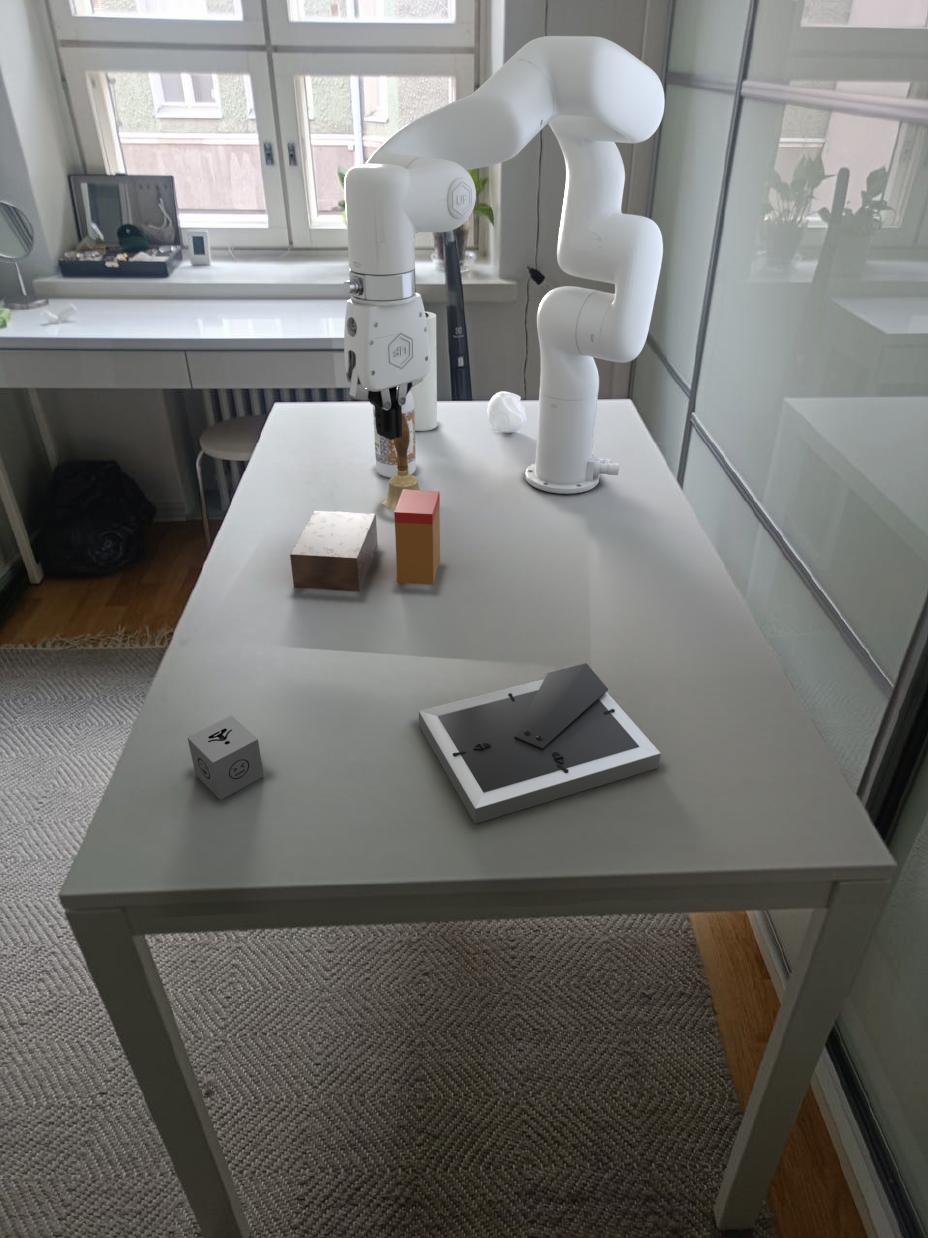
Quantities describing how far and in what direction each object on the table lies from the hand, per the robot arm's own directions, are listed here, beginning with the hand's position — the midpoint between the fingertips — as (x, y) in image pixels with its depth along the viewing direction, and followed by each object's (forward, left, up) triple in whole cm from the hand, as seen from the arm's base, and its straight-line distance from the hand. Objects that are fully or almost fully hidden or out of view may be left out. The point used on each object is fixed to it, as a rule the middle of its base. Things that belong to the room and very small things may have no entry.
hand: (389, 435), depth 111 cm
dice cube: (+10, +41, -21) cm, 47 cm away
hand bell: (+2, -21, -21) cm, 30 cm away
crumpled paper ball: (-12, -57, -21) cm, 62 cm away
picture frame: (-21, +33, -21) cm, 44 cm away
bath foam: (+6, -36, -21) cm, 42 cm away
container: (0, 0, -20) cm, 20 cm away
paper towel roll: (+5, -58, -21) cm, 62 cm away
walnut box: (+8, 0, -21) cm, 23 cm away
